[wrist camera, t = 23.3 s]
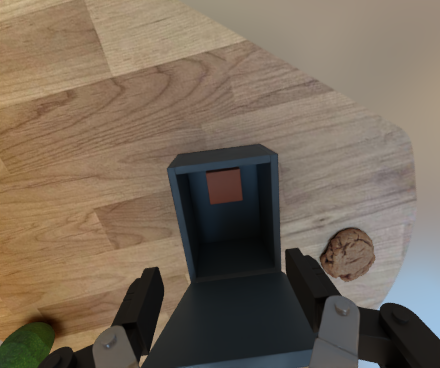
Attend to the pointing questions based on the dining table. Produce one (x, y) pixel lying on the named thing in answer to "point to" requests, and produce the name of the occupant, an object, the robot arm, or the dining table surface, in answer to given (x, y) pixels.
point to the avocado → (27, 346)
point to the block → (224, 185)
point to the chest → (228, 214)
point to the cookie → (349, 255)
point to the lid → (236, 326)
